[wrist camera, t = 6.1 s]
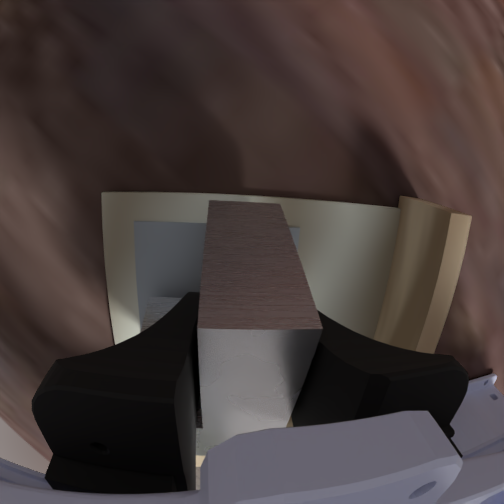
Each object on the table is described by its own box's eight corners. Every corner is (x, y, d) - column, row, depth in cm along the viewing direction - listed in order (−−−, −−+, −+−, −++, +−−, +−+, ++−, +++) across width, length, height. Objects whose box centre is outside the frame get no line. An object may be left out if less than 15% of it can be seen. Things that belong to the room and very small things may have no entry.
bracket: (259, 339, 15) (273, 454, 10) (155, 335, 15) (137, 450, 9) (280, 203, 11) (323, 329, 6) (139, 198, 11) (78, 319, 6)
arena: (419, 198, 14) (471, 216, 10) (365, 404, 18) (389, 448, 14) (103, 177, 12) (62, 190, 9) (129, 407, 16) (116, 458, 13)
